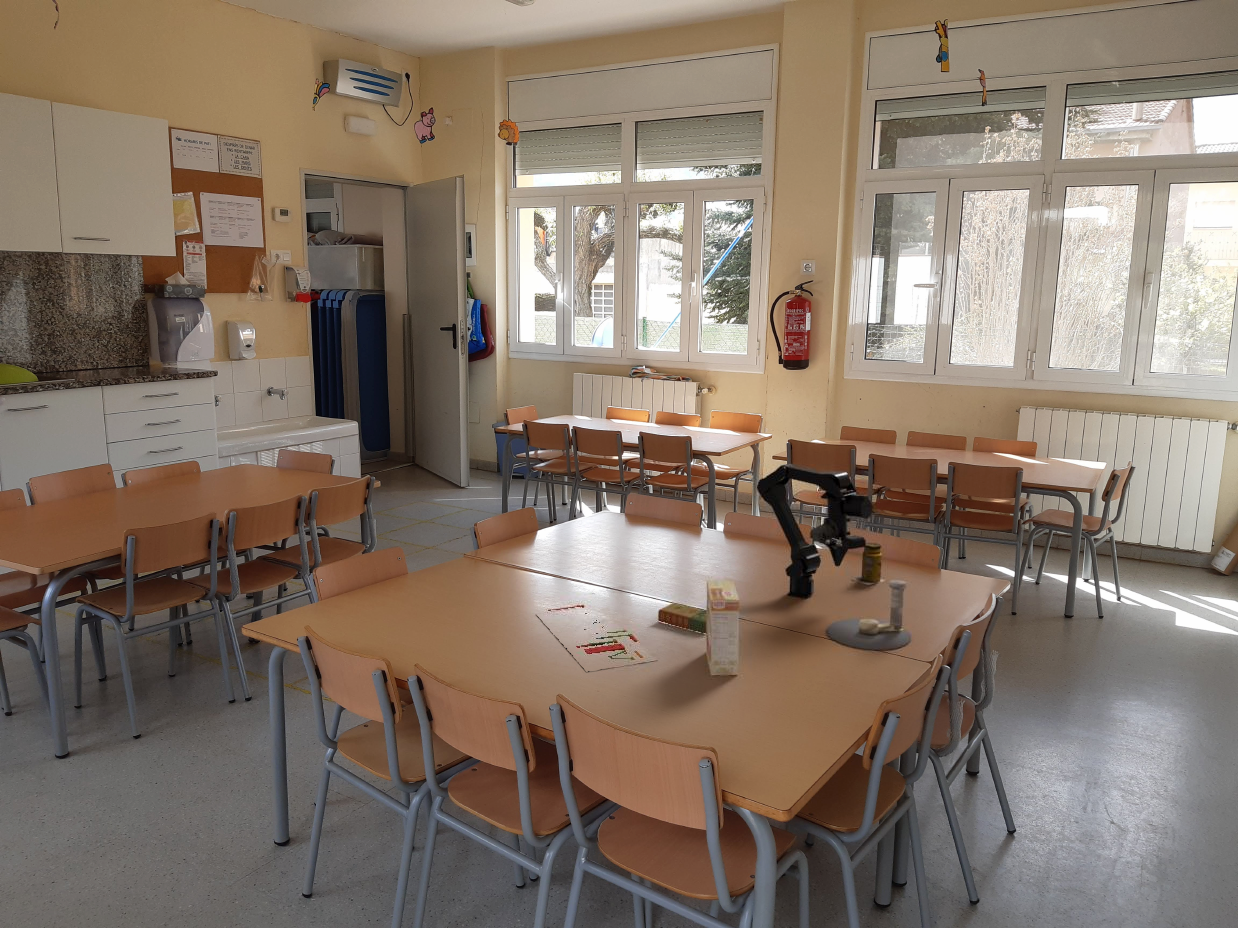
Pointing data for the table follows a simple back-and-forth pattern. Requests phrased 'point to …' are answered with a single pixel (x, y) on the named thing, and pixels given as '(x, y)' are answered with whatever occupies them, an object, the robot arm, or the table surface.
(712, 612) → the coffeecake box
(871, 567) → the condiment
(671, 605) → the carton
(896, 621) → the crank handle
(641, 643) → the table surface
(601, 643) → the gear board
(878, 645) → the dial plate
